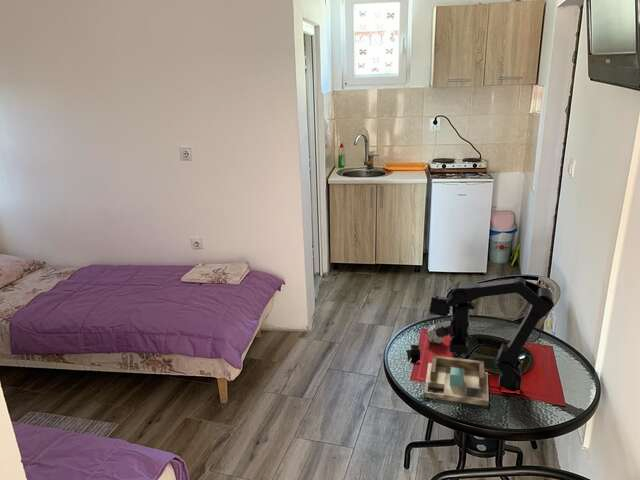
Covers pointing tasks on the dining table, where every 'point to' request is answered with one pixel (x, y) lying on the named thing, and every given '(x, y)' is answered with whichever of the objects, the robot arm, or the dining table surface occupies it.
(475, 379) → the board
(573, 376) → the dining table surface
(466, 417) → the dining table surface
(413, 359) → the black box
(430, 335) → the game die
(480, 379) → the cubby
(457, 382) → the block
